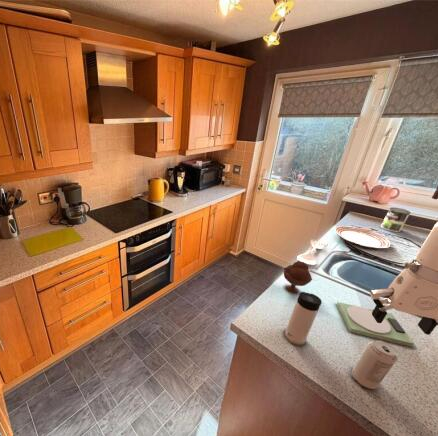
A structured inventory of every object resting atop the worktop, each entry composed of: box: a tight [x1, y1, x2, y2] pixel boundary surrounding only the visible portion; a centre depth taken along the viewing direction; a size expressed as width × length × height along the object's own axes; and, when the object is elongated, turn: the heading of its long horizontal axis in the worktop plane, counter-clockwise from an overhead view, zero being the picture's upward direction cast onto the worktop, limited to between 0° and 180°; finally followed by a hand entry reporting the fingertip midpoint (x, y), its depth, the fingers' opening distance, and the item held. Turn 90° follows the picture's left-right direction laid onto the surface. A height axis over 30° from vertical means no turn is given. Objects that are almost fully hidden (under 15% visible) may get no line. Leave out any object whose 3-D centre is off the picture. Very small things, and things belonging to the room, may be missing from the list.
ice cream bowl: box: [283, 260, 313, 295], centre depth 103 cm, size 11×11×15 cm
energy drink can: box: [351, 339, 398, 390], centre depth 67 cm, size 6×6×15 cm
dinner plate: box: [334, 225, 392, 249], centre depth 147 cm, size 28×27×3 cm
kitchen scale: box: [336, 301, 415, 348], centre depth 88 cm, size 18×14×3 cm
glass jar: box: [380, 207, 411, 233], centre depth 159 cm, size 10×10×14 cm
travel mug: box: [284, 291, 322, 346], centre depth 79 cm, size 6×7×20 cm
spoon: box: [296, 238, 329, 266], centre depth 132 cm, size 9×32×4 cm, turn 133°
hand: (398, 324), depth 60 cm, fingers open, 9 cm apart
